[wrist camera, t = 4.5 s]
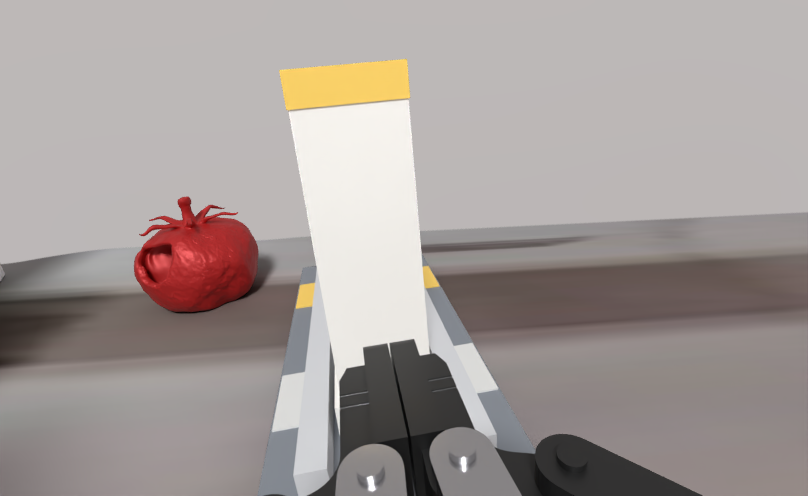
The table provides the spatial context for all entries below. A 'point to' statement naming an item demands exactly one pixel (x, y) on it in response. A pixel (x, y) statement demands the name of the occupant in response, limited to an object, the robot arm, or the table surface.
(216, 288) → the red round fruit
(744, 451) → the table surface
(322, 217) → the switch tab
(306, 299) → the switch plate
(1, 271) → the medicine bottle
